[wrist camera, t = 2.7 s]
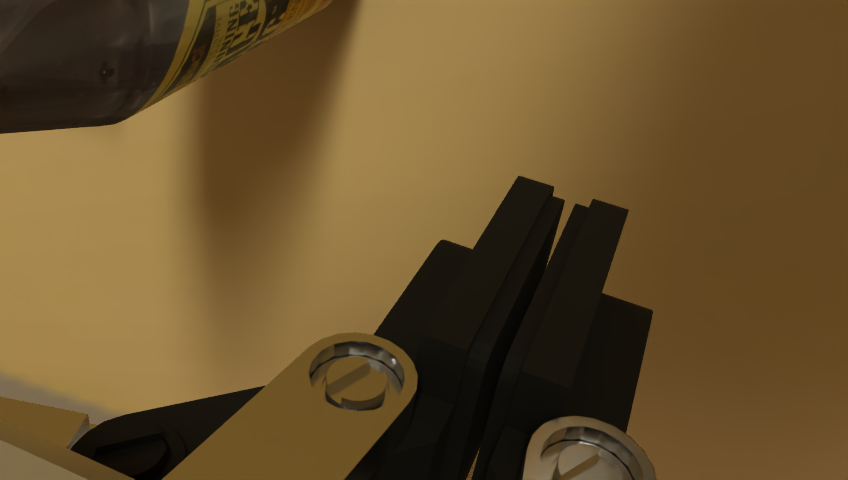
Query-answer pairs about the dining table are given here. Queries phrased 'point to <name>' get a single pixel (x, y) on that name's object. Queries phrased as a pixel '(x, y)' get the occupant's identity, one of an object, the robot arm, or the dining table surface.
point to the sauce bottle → (121, 53)
